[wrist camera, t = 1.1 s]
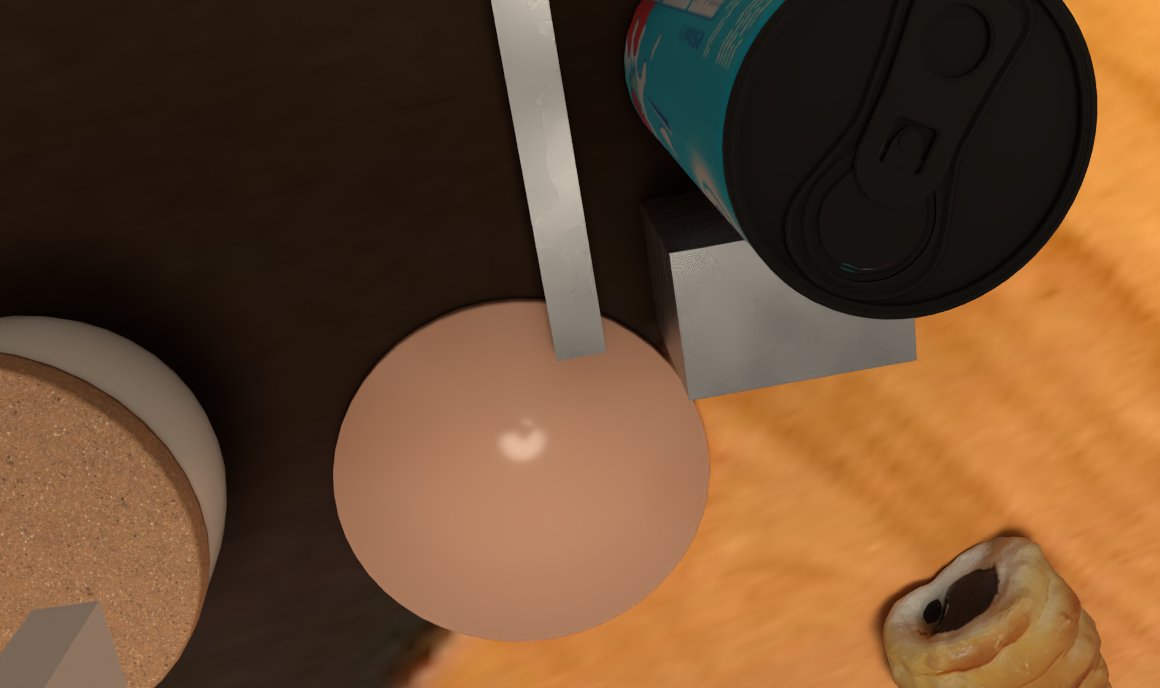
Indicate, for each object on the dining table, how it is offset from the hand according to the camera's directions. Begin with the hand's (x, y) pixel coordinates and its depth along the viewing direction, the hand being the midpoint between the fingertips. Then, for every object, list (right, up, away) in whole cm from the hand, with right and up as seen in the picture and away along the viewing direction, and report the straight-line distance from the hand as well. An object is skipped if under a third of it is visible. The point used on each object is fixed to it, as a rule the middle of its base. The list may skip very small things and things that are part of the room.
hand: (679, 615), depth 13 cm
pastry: (+14, -7, +26) cm, 30 cm away
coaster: (-3, -1, +22) cm, 22 cm away
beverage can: (+3, +11, +18) cm, 22 cm away
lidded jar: (-16, 0, +21) cm, 27 cm away
